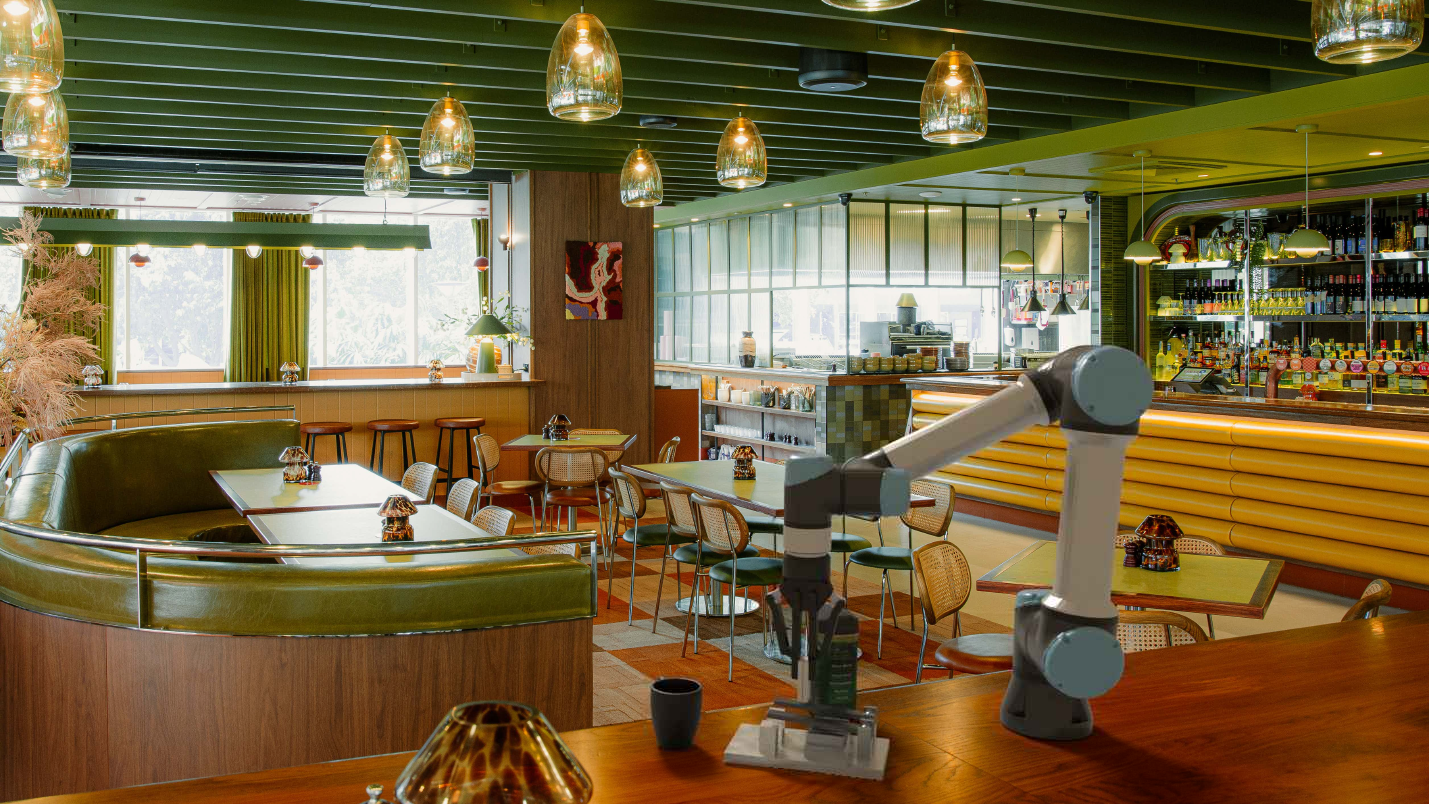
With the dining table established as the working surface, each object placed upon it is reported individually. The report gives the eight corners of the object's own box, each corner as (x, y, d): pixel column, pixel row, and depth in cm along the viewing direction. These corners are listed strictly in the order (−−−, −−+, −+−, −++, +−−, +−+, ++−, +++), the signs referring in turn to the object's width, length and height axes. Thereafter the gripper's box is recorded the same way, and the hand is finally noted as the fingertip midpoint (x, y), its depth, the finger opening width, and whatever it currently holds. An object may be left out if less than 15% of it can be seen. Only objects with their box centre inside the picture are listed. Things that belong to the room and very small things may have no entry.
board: (889, 748, 173) (890, 705, 173) (882, 780, 160) (883, 734, 160) (741, 732, 179) (742, 690, 178) (723, 762, 166) (724, 717, 166)
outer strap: (871, 733, 165) (872, 723, 165) (869, 739, 163) (870, 728, 163) (768, 715, 169) (770, 705, 169) (766, 720, 166) (767, 710, 166)
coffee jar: (862, 721, 185) (866, 613, 184) (818, 724, 183) (821, 615, 182) (842, 702, 194) (845, 599, 193) (800, 705, 192) (803, 601, 191)
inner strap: (874, 720, 171) (875, 710, 171) (873, 725, 169) (874, 715, 169) (775, 703, 175) (776, 693, 174) (773, 708, 172) (774, 698, 172)
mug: (685, 724, 182) (686, 668, 181) (708, 751, 170) (709, 691, 170) (637, 729, 179) (638, 672, 178) (657, 756, 168) (658, 696, 167)
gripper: (851, 550, 173) (847, 695, 174) (770, 545, 176) (767, 688, 177) (846, 559, 166) (842, 711, 167) (761, 554, 169) (758, 703, 170)
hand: (803, 699), depth 172 cm, fingers closed
